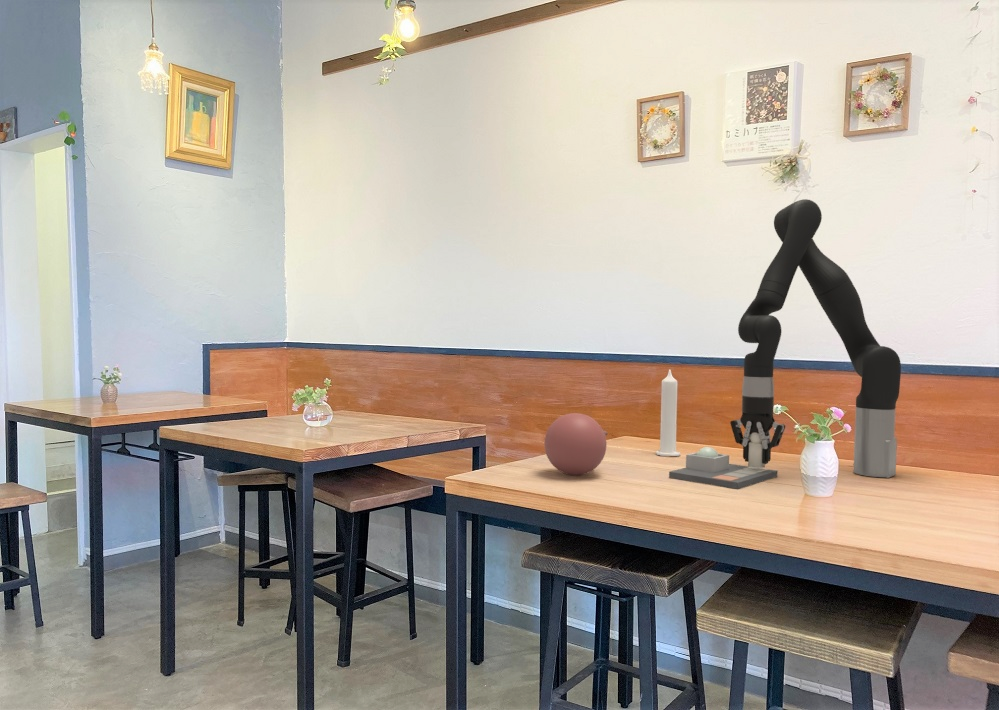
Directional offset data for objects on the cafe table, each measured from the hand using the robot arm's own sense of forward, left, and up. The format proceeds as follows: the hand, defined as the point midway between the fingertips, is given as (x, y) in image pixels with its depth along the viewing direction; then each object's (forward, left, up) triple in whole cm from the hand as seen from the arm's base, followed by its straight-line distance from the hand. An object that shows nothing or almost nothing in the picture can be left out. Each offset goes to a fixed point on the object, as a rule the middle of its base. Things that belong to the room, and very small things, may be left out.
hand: (756, 461), depth 192 cm
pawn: (0, 0, -1) cm, 1 cm away
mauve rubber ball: (+32, +31, -4) cm, 45 cm away
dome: (+9, +8, -2) cm, 12 cm away
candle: (+32, -11, -4) cm, 34 cm away
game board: (+5, +8, -4) cm, 10 cm away
